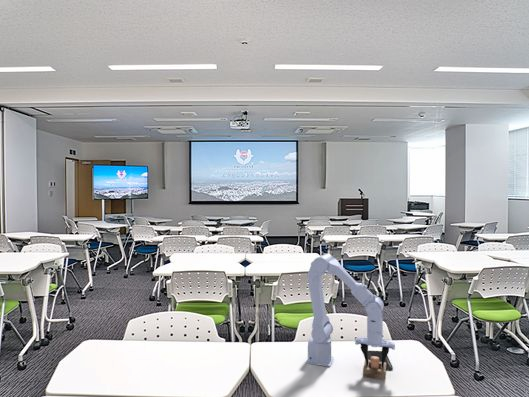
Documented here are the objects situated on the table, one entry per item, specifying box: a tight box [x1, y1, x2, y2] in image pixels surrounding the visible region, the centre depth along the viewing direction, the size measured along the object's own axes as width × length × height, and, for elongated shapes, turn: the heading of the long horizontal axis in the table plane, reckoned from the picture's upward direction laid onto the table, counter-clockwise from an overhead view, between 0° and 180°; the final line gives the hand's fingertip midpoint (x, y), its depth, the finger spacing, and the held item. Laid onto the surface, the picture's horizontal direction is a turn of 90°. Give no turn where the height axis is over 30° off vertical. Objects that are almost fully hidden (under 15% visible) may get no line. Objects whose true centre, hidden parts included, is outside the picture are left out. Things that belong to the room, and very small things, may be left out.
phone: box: [368, 350, 394, 371], centre depth 152 cm, size 8×1×15 cm
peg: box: [371, 356, 379, 369], centre depth 142 cm, size 3×3×6 cm
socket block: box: [362, 359, 387, 381], centre depth 142 cm, size 8×8×3 cm
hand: (374, 364), depth 142 cm, fingers open, 5 cm apart
